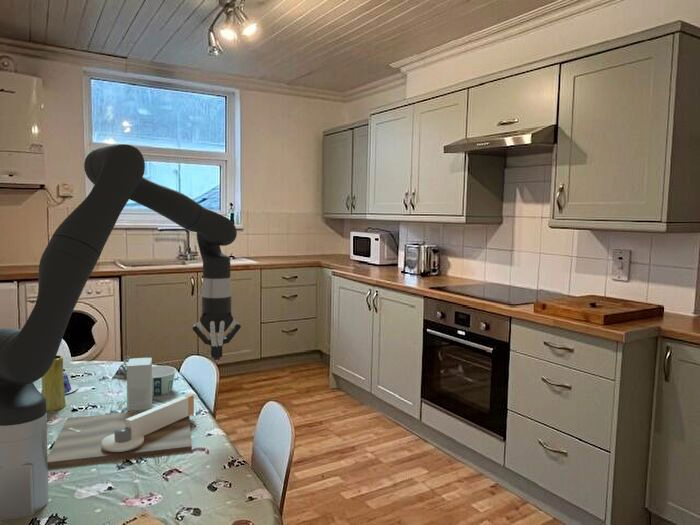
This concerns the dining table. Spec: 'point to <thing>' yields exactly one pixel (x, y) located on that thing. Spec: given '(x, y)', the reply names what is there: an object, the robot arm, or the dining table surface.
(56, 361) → the vase
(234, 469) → the dining table surface
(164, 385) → the food container
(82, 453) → the board
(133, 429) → the white pivot lever
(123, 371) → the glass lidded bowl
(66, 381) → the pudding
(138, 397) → the small box
